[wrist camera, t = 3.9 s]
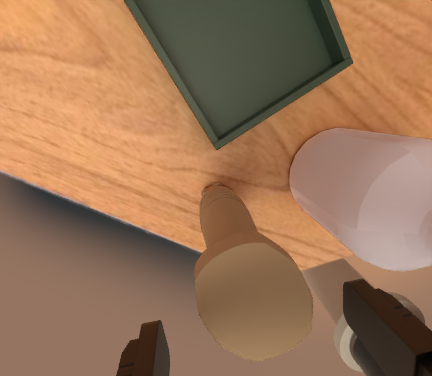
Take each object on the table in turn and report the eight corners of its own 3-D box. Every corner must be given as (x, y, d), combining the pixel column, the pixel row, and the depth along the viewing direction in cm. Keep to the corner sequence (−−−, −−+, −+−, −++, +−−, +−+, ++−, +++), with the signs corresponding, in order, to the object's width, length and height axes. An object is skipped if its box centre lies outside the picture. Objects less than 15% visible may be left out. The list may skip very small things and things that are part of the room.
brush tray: (338, 67, 24) (353, 63, 21) (213, 146, 24) (216, 150, 22) (244, -164, 18) (253, -200, 16) (90, -54, 19) (78, -74, 17)
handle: (210, 234, 27) (240, 375, 13) (178, 181, 25) (172, 279, 11) (252, 212, 27) (329, 329, 13) (223, 157, 25) (277, 223, 11)
